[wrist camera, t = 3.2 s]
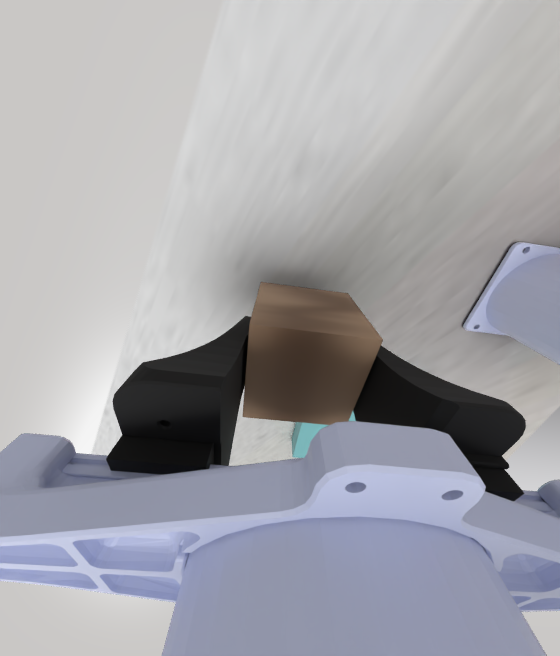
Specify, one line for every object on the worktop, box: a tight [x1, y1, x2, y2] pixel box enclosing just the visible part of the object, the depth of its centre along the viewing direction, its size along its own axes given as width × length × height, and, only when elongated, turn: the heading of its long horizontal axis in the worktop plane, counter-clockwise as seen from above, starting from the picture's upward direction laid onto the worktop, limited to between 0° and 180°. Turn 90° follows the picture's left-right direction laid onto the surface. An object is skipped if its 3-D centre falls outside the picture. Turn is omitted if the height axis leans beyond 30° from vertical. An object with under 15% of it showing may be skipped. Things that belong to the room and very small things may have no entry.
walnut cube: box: [243, 282, 383, 425], centre depth 11 cm, size 5×5×5 cm
